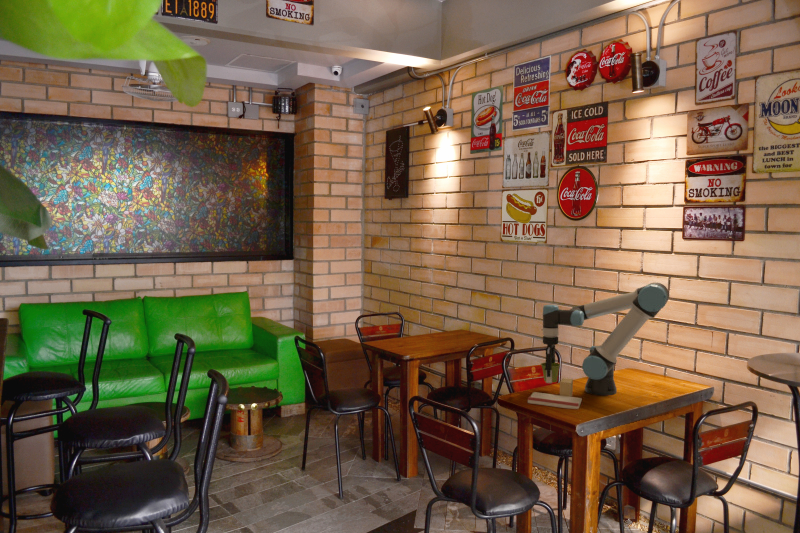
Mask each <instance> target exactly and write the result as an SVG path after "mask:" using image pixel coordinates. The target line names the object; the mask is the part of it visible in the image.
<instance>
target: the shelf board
mask: <svg viewBox="0 0 800 533" xmlns="http://www.w3.org/2000/svg"><path fill="white" fill-rule="evenodd" d="M582 400H583V399H582V397H575V396H572V397H569V396H561V395H560V394H552V393H545V392H543V393H542V392H536V391H533V392H532V394H531V395H530V396H528V397H527V404H534V405H540V406H541V405H542V406H549V407H555V408H563V409H569V410H570V409H571V410H572V409H573V410H579V408H580V406H581V403H582Z"/></svg>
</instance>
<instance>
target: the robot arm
mask: <svg viewBox="0 0 800 533" xmlns="http://www.w3.org/2000/svg"><path fill="white" fill-rule="evenodd" d="M669 299H670V292H669V289H668V287H667V286H665V285H664V284H662V283H660V282H651V283H648V284H646V285H645V286H642V287H639V288H635V291H631V292H628V293H624V294H620V295H616V296H613V297H609V298H604V299H600V300H596V301H593V302H589V303H585V304H581V305H575V306H573V307H572V308H569V309H561V308H559V306H558V304H545V305H544V306H543V308H542V310H543V311H542V329H541V331H542V335H543V336H542V344H543V345H547V346H546V348H545V363H546V366H545V369H544V370H546V381H545V383H546V384H553V382H552V369H551V367H552V363H556V346H557V345H558V344H559V325H561V326H571V327H572V326H573V327H582V326H583V325H584V321H586V320H590V319H594V318H595V319H596V318H597V317H598V318H599V317H602V316H607V315H610V314H614V313H619V312H622V311H627V310H629V311H627V313H626V314H625V316H624V317H623V318H622V319H621V320H620V322H619V323H618V324H617V325H616V327H615V328H614V329H613V330H612V332H611V333H610V334H609V335H608V337H606V339H605V340H604V341H603V342H602V343H601V345H591V346H590V348H589V354H588V356H586V357H585V358H584V359H583V362H582V364H581V365H582V366H581V367H582V371H583V374H584V375H585V376H587V379H586V383H585V385H584V391H585V392H586V393H587V394H590V395H592V396H593V395H594V396H604V397H606V396H612V395H613V396H614V395H615V394H617V392H618V391H617V386H616V383H615V382H616V381H615V380H614V379H615V378H614V377H615V376H614V373H615V371H614V370H615V364H616V363H617V358H618V356H619V354H620V353H622V351H623V350H624V349H625V347H626V346H627V345H628V344H629V342H630V341H631V340H632V339H633V338H634V336H636V334H637V333H638V332H639V331H640V330H641V328H642V327H644V325H645V324H646V323H647V321H648V320H650V319H654V318H655V317H656V316H657V315H658V314H659V312H660V311H661V309H663V308H664V307H665V306H666V304H667V302H668V301H669Z"/></svg>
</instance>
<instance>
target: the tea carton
mask: <svg viewBox="0 0 800 533" xmlns="http://www.w3.org/2000/svg"><path fill="white" fill-rule="evenodd" d="M573 385H574V379H573V378H565V377H562V378H561V380H559V395H561V396H569V397H573V387H574V386H573Z"/></svg>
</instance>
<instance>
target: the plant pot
mask: <svg viewBox="0 0 800 533" xmlns="http://www.w3.org/2000/svg"><path fill="white" fill-rule="evenodd" d="M540 365H541V368H542V374H543V380H544V382H546V370H544V369H545V366H546V362H542V363H540ZM560 366H561V363H558V362H555V363H552V367H551V369H552V383H557V382H558V376H559V369H560Z"/></svg>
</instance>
